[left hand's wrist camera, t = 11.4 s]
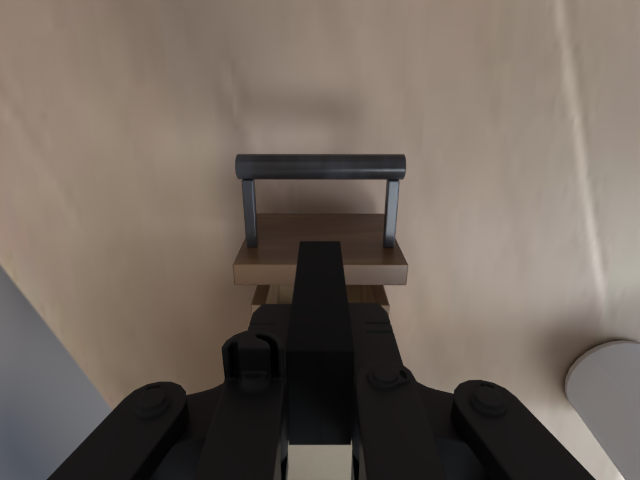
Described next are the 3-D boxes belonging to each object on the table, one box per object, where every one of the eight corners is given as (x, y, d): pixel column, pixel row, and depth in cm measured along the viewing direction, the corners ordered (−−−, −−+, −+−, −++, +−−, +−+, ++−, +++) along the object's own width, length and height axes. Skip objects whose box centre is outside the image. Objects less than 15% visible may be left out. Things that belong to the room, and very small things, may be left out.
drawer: (252, 138, 26) (223, 163, 18) (388, 138, 26) (417, 163, 18) (268, 390, 34) (252, 482, 26) (372, 391, 34) (387, 483, 26)
